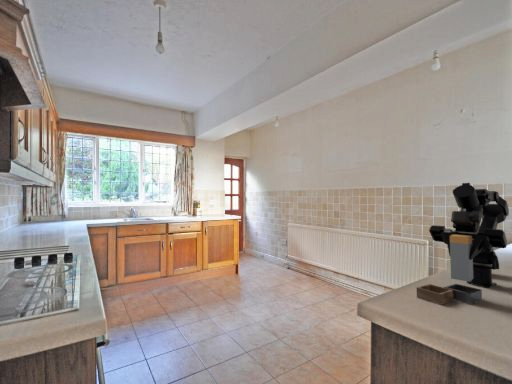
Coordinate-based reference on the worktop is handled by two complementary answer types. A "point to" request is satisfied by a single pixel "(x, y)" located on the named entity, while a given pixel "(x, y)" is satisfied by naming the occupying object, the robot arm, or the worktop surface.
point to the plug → (461, 257)
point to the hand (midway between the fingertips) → (460, 257)
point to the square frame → (435, 294)
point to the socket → (465, 293)
